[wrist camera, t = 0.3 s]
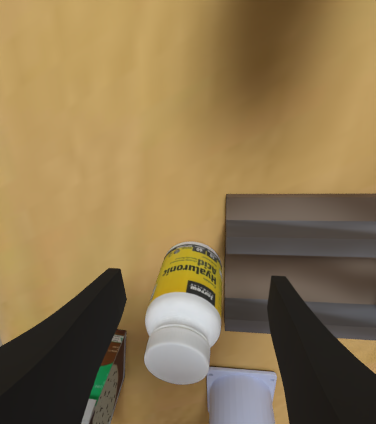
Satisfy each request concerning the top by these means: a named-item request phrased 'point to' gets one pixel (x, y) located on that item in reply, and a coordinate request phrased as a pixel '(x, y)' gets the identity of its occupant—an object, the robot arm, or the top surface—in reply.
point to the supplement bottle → (184, 314)
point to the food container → (107, 383)
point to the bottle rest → (302, 259)
